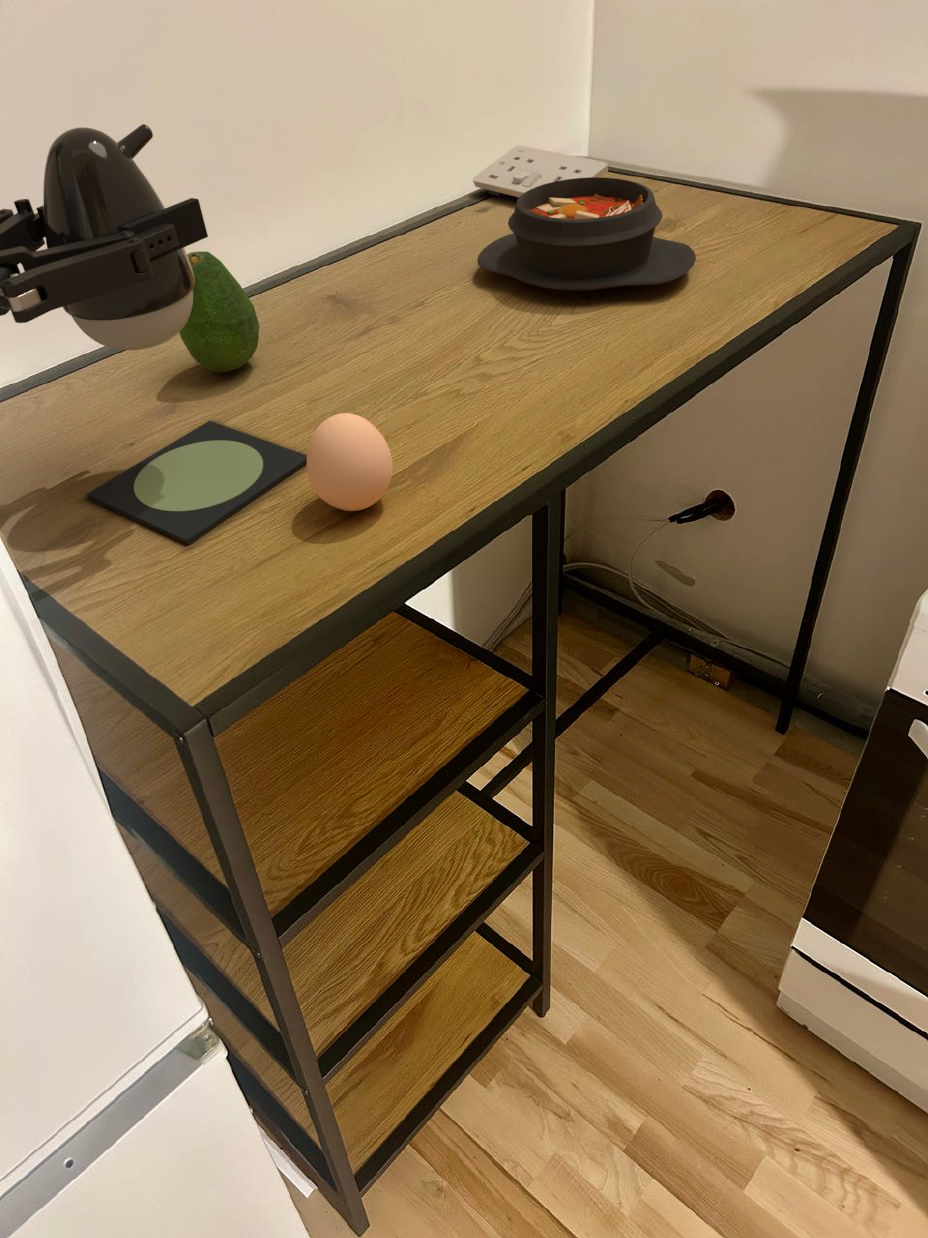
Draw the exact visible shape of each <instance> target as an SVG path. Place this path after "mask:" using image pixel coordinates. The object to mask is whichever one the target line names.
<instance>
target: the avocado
mask: <svg viewBox="0 0 928 1238" xmlns="http://www.w3.org/2000/svg"><path fill="white" fill-rule="evenodd" d="M187 256H188V258H189V261H190V264H191V267H192V270H193V274H194V278H195V285H194V287H193V305H192V310H191V313H190V316H189V319H188V321H187V322H186V324H185V326H184V327H183V328H182V329H181V331H180V332H179V333H178V334H179V336H180V339H181V341H182V342H183V344H184V345H185V348H186V349H187V351H188V352H189V354H190V356H191V357H192V358H193V359H194V360H195V362H197V363H198V364H199V365H200V366H202V367H203V368H205V369H207V370H209V371H211V372H214V373H225V372H226V373H227V372H231V371H235V370H238V369H240V368H241V367H242V366H244V365H245V364H246V363H247V362H249V361H250V360H251V359H252V357H253V356H254V355H255V353H256V351H257V349H258V344H259V335H260V323H259V320H258V316H257V312H256V309H255V306H254V304H253V303H252V300H251V299H250V298H249V296H248V295H247V293H246V292H245V290H244V289H243V287H242V286H241V284H240V283H239V282H238V281H237V279H236V278H235V277H234V276H233V274H232V273H231V271H229V269H228V268H227V267H226V265H225V264H224V263H223V262H222V260H220V259H219V258H217V256H215V255H214V254H212V253H211V252H209V251H191V252H189V253H187Z"/></svg>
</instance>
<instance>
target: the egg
mask: <svg viewBox="0 0 928 1238" xmlns="http://www.w3.org/2000/svg"><path fill="white" fill-rule="evenodd" d="M306 455H307V464H306V470H307V475H308V479H309V482H310V484H311V487H312V489H313V490H314V491H315V493H316V494H317V496H318V497H319V498H320V499H321V500H322V501H324V502H325V503H326V504H328V505H329V506H331V507H333V508H337V509H339V510H342V511H346V512H355V511H362V510H365V509H367V508H369V507H371V506H373V505H375V504H376V503H377V502H378V501H379V500H380V499H381V498H382V497H383V496H384V494H385V492H386V491H387V490H388V488H389V486H390V484H391V480H392V477H393V471H394V470H393V467H394V465H393V464H394V463H393V457H392V454H391V449H390V447H389V445H388V442H387V441H386V439H385V437H384V436H383V434H381V432H380V431H379V430H378V428H377V427H376V426H375V425H374V424H372V422H370V421H369V420H368V419H366V418H365V417H363V416H361V415H359V414H353V413H350V412H345V413H343V412H342V413H337V414H334V415H332V416H329V417H327V418H326V419H325V420H323V421H322V422H321V423H320V424H319V425H318V427H317V428H316V429H315V431H314V433H313V435H312V436H311V438H310V441H309V445H308V448H307V452H306Z"/></svg>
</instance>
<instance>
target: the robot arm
mask: <svg viewBox="0 0 928 1238" xmlns="http://www.w3.org/2000/svg"><path fill="white" fill-rule="evenodd" d="M13 204H14V206H15V210H16V213H14V211H13V210H12V209H10V208H1V209H0V317H1V316H5V315H7V314H8V313H9V312H11V315H12V317H13V320H14V322H15V323H17V324H26V323H29V322H31V321H33V320H35V319H37V318H39V317H42V316H43V315H45V314H47V313H50V312H51V311H53V310H57V309H60V308H63V306H66V305H69V304H72V303H75V302H79V301H82V300H85V299H88V298H91V297H94V296H97V295H100V294H103V293H106V292H109V291H112V290H115V289H118V288H121V287H124V286H127V285H130V284H133V283H137V282H144V281H146V280H147V279H149V278H151V277H152V276H153V271H152V268H151V265H150V262H152V261H154V260H156V259H159V258H161V257H163V256H165V255H168V254H170V253H172V252H175V251H177V250H179V249H181V248H184V249H185V248H186V247H188V246H190V245H193V244H196V243H197V242H200V241H202V240H205V239H207V238H209V235H208V231H207V227H206V224H205V220H204V215H203V212H202V207H201V204H200V200H199V198H194V197H190V198H188V199H185V200H182V201H180V202H177V203H176V204H175V203H174V204H173V205H170V206H168V207H165V209H163V210H160V211H158V212H155V213H153V214H150V215H148V216H145V217H143V218H140V219H138V220H135V221H133V222H130V223H128V224H125V225H123V226H120V227H121V230H122V232H121V233H116V234H112V235H107V236H103V237H98V238H94V239H89V240H85V241H80V242H76V243H71V244H66V245H62V246H57V247H53V248H48V249H47V248H45V249H41V248H42V247H43V246H44V245H46V240H45V238H46V236H45V226H44V208H43V205H40V206H38V207H36V208H35V210H36V211H37V212H36V213H35V212H34V209H33V207H32V204H31V201H30V199H29V198H22V199H17V200H14V201H13ZM18 265H21V266H22V268H23V272H21V271H20V268H19V266H18Z"/></svg>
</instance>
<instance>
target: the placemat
mask: <svg viewBox="0 0 928 1238" xmlns="http://www.w3.org/2000/svg"><path fill="white" fill-rule="evenodd" d="M304 466H307V454H304V453H301V452H299V451H296V450H293V449H290V448H288V447H284V446H282V445H279V444H276V443H274V442H271V441H268V440H265V439H262V438H260V437H257V436H254V435H251V434H249V433H247V432H243V431H240V430H237V429H234V428H232V427H228V426H226V425H223V424H221V423H218V422H215V421H212V420H207V422H205V423H203V424H201V425H200V426H198V427H196V428H195V429H192V431H190V432H188V433H187V434H185V435H183V436H181V437H180V438H178V439H176V440H175V441H173V442H171V443H170V444H168V445H166V446H165V447H163V448H161V449H160V450H157V451H156V452H154V453H153V454H151V455H149V456H148V457H146V458H144V459H142V460H141V461H139V462H138V463H136V464H134V465H132V466H131V467H129V468H127V469H126V470H124V471H122V472H120V473H119V474H117V475H116V476H114V477H113V478H111V479H109V480H107V481H106V482H104V483H102V484H101V485H99V486H97V487H95V488H94V489H92V490H90V491H89V492H87V493H86V497H87V499H88V500H90V501H93V502H94V503H97V504H99V505H101V506H103V507H105V508H108V509H109V510H112V511H114V512H116V513H118V514H120V515H122V516H125V517H127V518H129V519H131V520H134V521H136V522H138V523H140V524H142V525H144V526H146V527H149V528H150V529H153V530H155V531H156V532H159V533H162V534H163V535H166V536H168V537H170V538H172V539H174V540H176V541H179V542H181V543H183V544H184V545H187V546H190V545H191V544H192V543H194V542H196V541H197V540H198V539H199V538H201V537H203V536H204V535H205V534H207V533H209V532H210V531H211V530H214V528H216V527H218V525H220V524H221V523H223V522H224V521H226V520H227V519H228V518H230V517H232V516H233V515H234V514H236V513H238V512H239V511H241V509H243V508H245V507H246V506H247V505H249V504H251V503H252V502H253V501H255V500H256V499H258V498H259V497H261V496H262V495H264V494H265V493H267V492H268V491H270V490H271V489H273V488H274V487H275V486H276V485H279V484H280V483H281V482H282V481H284V480H285V479H287V478H288V477H290V476H292V474H294V473H296V472H297V471H299V470H300V469H302V468H303V467H304Z"/></svg>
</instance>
